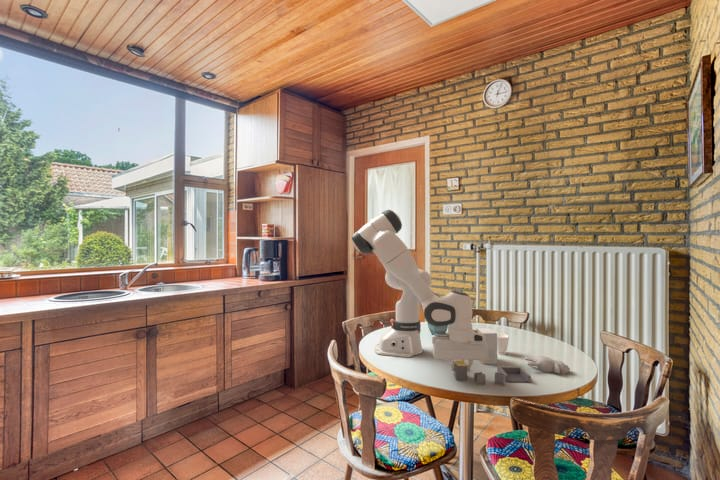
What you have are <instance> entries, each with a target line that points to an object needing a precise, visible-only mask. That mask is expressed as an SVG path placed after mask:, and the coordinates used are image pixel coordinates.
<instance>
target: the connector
mask: <svg viewBox="0 0 720 480" xmlns="http://www.w3.org/2000/svg"><path fill="white" fill-rule="evenodd" d="M452 362H453V363H452V365H455V371H452V372H453V377H454V378H455V380H456V381H463V382H464V381H468V371H467V366H466V365H467V363H466V362H465V360H454V361H453V360H452Z"/></svg>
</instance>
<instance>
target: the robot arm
mask: <svg viewBox="0 0 720 480" xmlns="http://www.w3.org/2000/svg"><path fill="white" fill-rule="evenodd" d="M402 227H403V223H402V220H401V218H400V216H399V215H398V214H397V213H396V212H394V211H393V210H391V209H387V210H384V211H382V212H381V213H380V214H378V215H376V216H375V217H373V218H372V219H370V220H369V221H367V223H365V224H364V225H362V227H361V228H360V229H358V230H356V231H355V232H354V233H353V234H352V236H351V241H352V245H353V248H355V250H356V251H357V252H359V253H361V254H362V255H366V256H367V255H370V254H371V255H374V254H375V256H376V257H377V259H378V260H379V262H380V263H381V265H382V266H383V268H384V269H385V275H384V279H385V283H386V285H388V286H389V287H390V288H392V289H395V290H400V291H402V294H401V298H400V299H399V300H397V301H396V303H395V319H393V318H391V319H390V321H389V322H390V325H391V327H390V328H389V329H387V331H385V332H384V333H383V334H382V335H381V336H380V339H379V343H377V344H376V345H375V346H374V352H375V353H376V354H377V355H378V356H379V355H381V356H389V357H390V356H392V357H403V358H411V357H413V356H417V355H420V354H422V353H423V352H424V349H423V346H422V341H421V340H422V339H421V331H422V329H421V326H422V325H421V324H422V323H421V320H420V307H421V311H422V313H423V316H424V319H425V321H426V322H427V324H428V323H429V324H431V325H433V326H444V325H448V328H447V333H445V334H436V335H433V336H432V338H431V342H432V343H431V344H432V345H433V346H432V347H433V348H432V356H433V358H434V359H435V360H447V362H448V364H449V365H450V366H449V368H450V371H451V372H453V371H455V365H453V363H452V362H453V360H454V361H455V360H464V361H468V363H467V364H466V366H467V372H468V373H469V372H471V367H472V365H473V364H474V361H480V360H487V359H488V358H489V353H488V346H487V344H486V342H485V340H486V337H485V336H484V334H483V333H481V332H480V331H477V330H475V329H473V323H472V318H473V302H472V298H471V296H470V295H469V294H467V293H466V292H464V291H460V290H450V291H449V292H448V293H447V294H444V295H443V296H441V295H438V294H436V292H433V291H432V289H431V285H432V278H431V275H430V273H429V272H428V271H426V270H423V269H421V268H418V267H419V266H418V264H417V262H416V259H415V257H414V256H413V254H412V252H411V251H410V249H409V248H408V247H407V245H406V243H404V242H403V240H402V239H401V238H400V237H399V236H398V235H397V234H398V233H399V232H400V231H401V230H402ZM373 252H374V253H373Z"/></svg>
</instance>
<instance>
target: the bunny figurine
mask: <svg viewBox="0 0 720 480" xmlns="http://www.w3.org/2000/svg"><path fill="white" fill-rule="evenodd" d="M524 360H525V361H527V365H528V366H529V367H537V368H538V369H539V370H540V371H541V372H543V373H548V374H552V373H554V374H560V375H566V374H568V373H570V370H571V369H570V367H569V365H567V364H565V363H564V362H563V361H562V360H558V359H557V360H555V359H552V358H551V357H547V356H543V355H542V356H539V357H538V358H537V359H534V358H532V357H529V356H525V358H524Z"/></svg>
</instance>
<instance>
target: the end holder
mask: <svg viewBox="0 0 720 480" xmlns="http://www.w3.org/2000/svg"><path fill="white" fill-rule="evenodd" d="M496 372H497V373H503V374H504V383H515V384H516V383H522V384H524V383H525V384H529V383H530V384H531V383H532V381H531V380H532V378H531V377H532V376H531V375H530V373H528V372H527V371H526V370H525V369H524V368H523V367H522V366H503V365H502V366H501V365H497V366H496Z"/></svg>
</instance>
